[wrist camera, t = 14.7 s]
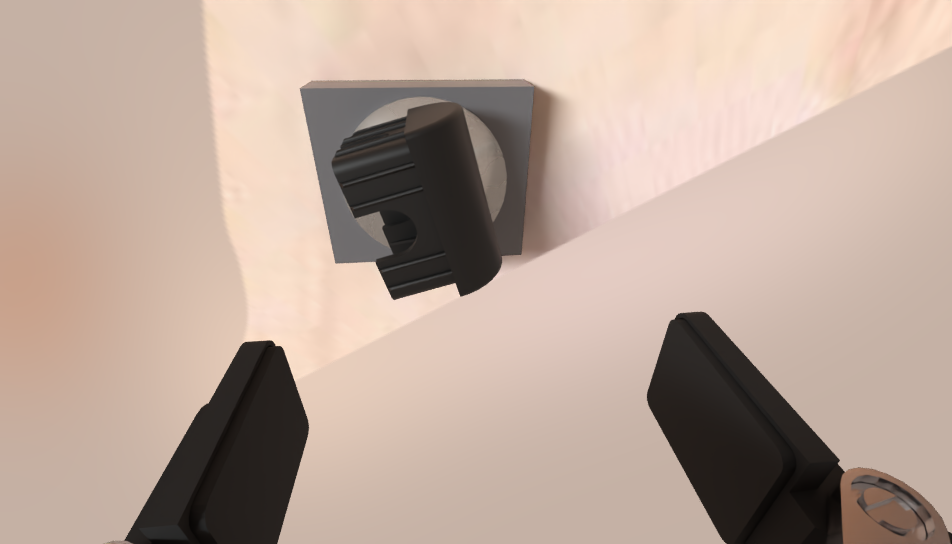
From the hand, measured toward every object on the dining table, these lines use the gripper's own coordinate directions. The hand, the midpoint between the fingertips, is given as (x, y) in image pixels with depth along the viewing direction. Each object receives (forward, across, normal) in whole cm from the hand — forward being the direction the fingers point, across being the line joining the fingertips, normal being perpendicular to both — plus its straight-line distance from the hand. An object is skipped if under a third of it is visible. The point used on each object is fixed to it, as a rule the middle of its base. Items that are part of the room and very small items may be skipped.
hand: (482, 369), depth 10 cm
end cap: (+20, +2, +2) cm, 20 cm away
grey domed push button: (+23, +2, +2) cm, 23 cm away
